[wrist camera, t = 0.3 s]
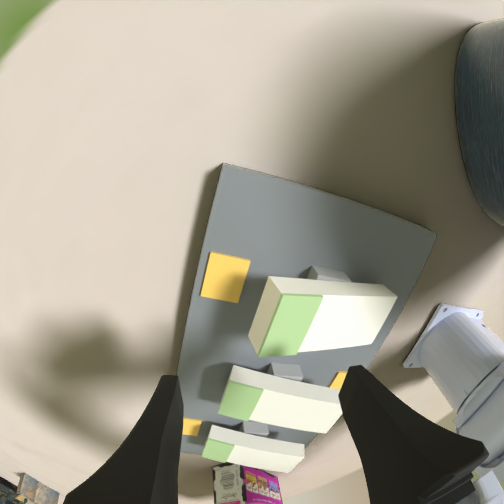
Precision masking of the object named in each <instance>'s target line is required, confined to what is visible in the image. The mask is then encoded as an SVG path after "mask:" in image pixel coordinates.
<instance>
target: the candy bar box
mask: <svg viewBox="0 0 504 504" xmlns="http://www.w3.org/2000/svg"><path fill="white" fill-rule="evenodd" d="M212 469H213V486H214V503H215V504H283V503H282V498H281V493H280V488H279V483H278V478H277V477H276V476H273V475H271V474H269V473H267V472H264V471H262V470H260V469H258V468H253V467H248V466H243V465H239V464H234V463H227V464H223V465H218V466H215V467H213V468H212Z"/></svg>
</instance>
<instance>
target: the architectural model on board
mask: <svg viewBox="0 0 504 504" xmlns="http://www.w3.org/2000/svg"><path fill="white" fill-rule="evenodd" d="M16 493H18V494H21V495H18V496H17V497H16V498H17V499H18V500H20V501H21V503H22V502H24V499H25V498H26V499H28V500H30V501H31V502H33V503H35V504H57V503H58V498H59V493H58V492H56V491H55V490H53V489H51V488H49V487H47V486H46V485H44V484H42V483H41V482H39V481H37V480H36V479H34V478H32V477H31V476H29V475H28V474H26V473H22V474H21V477H20V481H19V485H18V488H17V492H16ZM16 498H15V499H16Z"/></svg>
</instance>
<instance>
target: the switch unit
mask: <svg viewBox="0 0 504 504" xmlns="http://www.w3.org/2000/svg"><path fill="white" fill-rule="evenodd" d="M436 237H437V234H436V233H434V232H432V231H431V230H429V229H427V228H425V227H423V226H420V225H418V224H415V223H413V222H410V221H408V220H405V219H403V218H400V217H397V216H395V215H392V214H389V213H387V212H384V211H381V210H379V209H376V208H373V207H370V206H368V205H365V204H362V203H359V202H356V201H353V200H350V199H347V198H344V197H341V196H338V195H335V194H332V193H329V192H326V191H323V190H320V189H317V188H313V187H310V186H307V185H304V184H300V183H297V182H294V181H290V180H287V179H283V178H280V177H276V176H273V175H269V174H265V173H262V172H258V171H254V170H250V169H247V168H243V167H239V166H235V165H231V164H227V163H223V164H222V168H221V172H220V176H219V179H218V183H217V187H216V191H215V195H214V199H213V203H212V207H211V211H210V215H209V219H208V223H207V227H206V232H205V236H204V240H203V244H202V249H201V253H200V258H199V262H198V267H197V271H196V276H195V281H194V285H193V290H192V295H191V300H190V305H189V310H188V315H187V320H186V325H185V330H184V336H183V341H182V346H181V352H180V358H179V363H178V369H177V375H176V376H178V378H179V383H180V389H181V394H182V399H183V404H184V416H183V433H182V441H181V449H180V452H182V453H189V454H198V455H202V453H203V449H204V446H205V442H206V440H207V437H208V434H209V432H210V429H211V426H212V425H215V426H219V427H222V428H226V429H230V430H234V431H238V432H242V433H246V434H251V435H255V436H260V437H265V438H270V439H275V440H280V441H286V442H292V443H299V444H304V449H305V448H306V447H307V446H308V445H309V444H310V442H311V441H312V440H313V439H314V438H315V437H316V435H317V434H318V433H317V432H310V431H304V430H297V429H292V428H286V427H281V426H276V425H271V424H266V423H261V422H257V421H253V420H248V421H244V420H240V419H236V418H232V417H229V416H225V415H221V414H218V410H219V407H220V403H221V399H222V396H223V393H224V390H225V387H226V384H227V382H228V379H229V376H230V373H231V370H232V367H233V365H236V366H239V367H243V368H246V369H250V370H254V371H258V372H261V373H265V374H269V375H273V376H277V377H282V378H286V379H290V380H295V381H299V382H304V383H308V384H313V385H318V386H323V387H329V388H334V389H341V387H342V384H343V382H344V379H345V377H346V374H347V371H348V369H349V367H350V366H356V365H362V366H363V367H364V368H366V369H367V367H368V366H369V364H370V363H371V361H372V360H373V358H374V357H375V355H376V353H377V352H378V350H379V349H380V347H381V345H382V344H383V342H384V340H385V339H386V337H387V335H388V334H389V332H390V330H391V329H392V327H393V325H394V323H395V322H396V320H397V318H398V316H399V314H400V313H401V311H402V309H403V307H404V305H405V303H406V301H407V299H408V298H409V296H410V294H411V292H412V290H413V288H414V286H415V284H416V282H417V280H418V277H419V275H420V273H421V271H422V269H423V267H424V265H425V262H426V260H427V258H428V256H429V253H430V251H431V249H432V246H433V244H434V242H435V239H436ZM268 276H275V277H287V278H300V279H312V280H326V281H339V282H354V283H369V284H383V285H384V286H386V287H387V288H388V289H389V290H390V291H392V292H393V293H394V294H395V295H396V296H398V297H397V299H396V301H395V303H394V305H393V307H392V309H391V311H390V312H389V314H388V316H387V318H386V320H385V322H384V323H383V325H382V327H381V329H380V330H379V332H378V334H377V336H376V337H375V339H374V341H373V342H372V344H368V345H361V346H354V347H346V348H337V349H328V350H319V351H308V352H298V353H297V355H288V356H273V357H258V355H257V353H256V351H255V349H254V347H253V345H252V343H251V341H250V339H249V337H248V334H249V331H250V328H251V326H252V323H253V320H254V317H255V314H256V311H257V308H258V306H259V303H260V300H261V297H262V294H263V291H264V288H265V285H266V282H267V279H268Z"/></svg>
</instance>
